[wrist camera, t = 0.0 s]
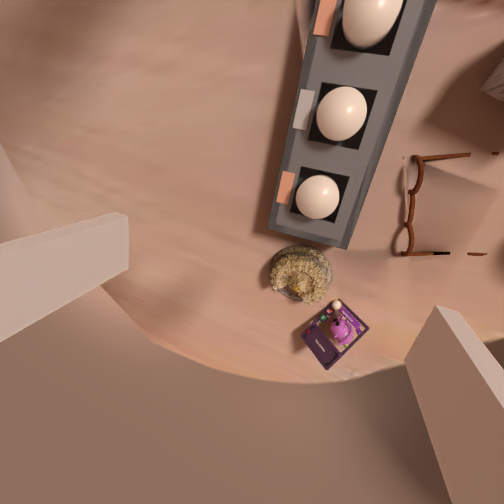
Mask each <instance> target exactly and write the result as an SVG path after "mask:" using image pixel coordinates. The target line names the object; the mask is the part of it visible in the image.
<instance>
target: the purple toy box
mask: <svg viewBox="0 0 504 504" xmlns="http://www.w3.org/2000/svg"><path fill="white" fill-rule="evenodd" d="M342 305H343V306H344V307H345V308H346V309H347V310H348V311H349V312H350V313H351V314H352V315H353V316H354V317H355V318H356V319H357V320H358V321H359V322H360V323H361V324H362V325H363V326H364V327H365V330H364V331H363V332H362V331H361V330H360V328H359V327H360V326H361V325H360V323H359V322H358V321H357V320H356V319H355V318H354V317H353V316H352V315H351V314H350V313H349V312H348V311H347V310H346V309H345V308H344V307H343V306H342ZM331 307H333V308H334V309H335V310H338V311H339V312H340V313H341V314H342V316H341V317H339V316H338V319H334V320H333V322H332V325H331V329H330V330H332V332H333V334H334V338H336V340H337V341H338V342H339V346H340V345H341V344H342V345H344V347H345V348H346V349H345V350H344V351H343V352H342V353H340V352H339V351H338V350H337V348H336V347H335V346H334V345H333V344H332V342H331V341H330V340H329V339H328V338H327V336H326V335H325V334H324V333H323V332H322V331H321V329H320V328H319V327H318V326H317V325H316V323H317V322H318V321H319V320H320V321H322V322H326V321H327V320H328V317H327V315H328V316H331V315H332V314H333V313H334V310H333V308H331ZM343 316H344V317H345V318H346V319H347V320H348V321H349V322H350V323H351V324H352V325H353V326H354V327H355V328H356V332H357V334H358V337H357V338H356V339H355V340H354V341H353V342H352V343H351V344H350V345H349V346H347V344H348V343H349V342H350V341H351V340H352V337H353V329H352V326H351V325H350V324H349V323H348V322H347V320H343V319H341V318H342V317H343ZM368 330H369V327H368V326H367V325H366V324H365V323H364V322H363V321H362V320H361V319H360V318H359V317H358V316H357V315H356V314H355V313H354V312H353V311H352V310H351V309H350V308H349V307H348V306H347V305H345V304H344V303H343V302H342V301H341V300H340V299H338V300H334V301H333V302H331V303H330V304H329V305H328V307H327V308H326V309H325V310H324V311H323V312H322V313H321V314H320V315H319V316H318V317H317V318H316V319H315V320H314V321H313V322H312V323H311V325H310V326H309V327H308V328H307V329H306V330H305V331H304V332H303V333H302V334H301V338H302V339H303V340H304V342H305V343H306V344H307V346H308V347H309V348H310V350H311V351H312V352H313V354H314V355H315V356H316V358H317V359H318V360H319V362H320V363H321V364H322V366H323V367H324V368H325V370H329V369H330V368H331V367H332V366H333V365H334V364H335V363H336V362H337V361H338V360H339V359H340V358H341V357H342V356H343V355H344V354H345V353H346V352H347V351H348V350H349V349H350V348H351V347H352V346H353V345H354V344H355V343H356V342H357V341H358V340H359V339H360V338H361V337H362V336H363V335H364V334H365V333H366V332H367V331H368ZM359 333H361V334H360V335H359Z"/></svg>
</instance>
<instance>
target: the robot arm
mask: <svg viewBox="0 0 504 504" xmlns="http://www.w3.org/2000/svg"><path fill="white" fill-rule="evenodd" d="M127 269H129V227H128V216H127V215H123V214H120V213H116V212H112V213H109V214H105V215H101V216H98V217H94V218H91V219H87V220H84V221H80V222H76V223H73V224H69V225H66V226H62V227H59V228H55V229H51V230H48V231H45V232H41V233H38V234H33V235H30V236H26V237H23V238H20V239H16V240H12V241H8V242H5V243H2V244H0V342H1V341H3V340H5V339H7V338H8V337H10V336H12V335H13V334H15V333H17V332H19V331H21V330H22V329H24V328H26V327H28V326H29V325H31V324H33V323H34V322H36V321H38V320H40V319H41V318H43V317H45V316H47V315H48V314H50V313H52V312H54V311H55V310H57V309H59V308H61V307H62V306H64V305H66V304H67V303H69V302H71V301H73V300H74V299H76V298H78V297H80V296H81V295H83V294H85V293H87V292H88V291H90V290H92V289H94V288H95V287H97V286H99V285H101V284H102V283H104V282H106V281H108V280H109V279H111V278H113V277H115V276H116V275H118V274H120V273H122V272H123V271H125V270H127ZM404 361H405V364H406V367H407V370H408V373H409V376H410V379H411V382H412V385H413V388H414V391H415V394H416V397H417V400H418V403H419V406H420V409H421V412H422V415H423V418H424V421H425V424H426V427H427V430H428V433H429V435H430V439H431V442H432V445H433V448H434V451H435V454H436V457H437V460H438V463H439V466H440V469H441V472H442V475H443V478H444V481H445V484H446V487H447V490H448V493H449V496H450V499H451V502H452V504H504V370H503V368H502V367H501V366H500V365H499V363H498V362H497V361H496V359H495V358H494V357H493V356H492V354H491V353H490V352H489V350H488V349H487V348H486V347H485V345H484V344H483V343H482V341H481V340H480V339H479V337H478V336H477V335H476V334H475V332H474V331H473V330H472V328H471V327H470V326H469V325H468V323H467V322H466V321H465V319H464V318H463V317H462V315H461V314H460V313H459V312H458V311H455V310H451V309H448V308H445V307H441V306H438V305H435V306H434V308H433V310H432V312H431V313H430V315H429V317H428V319H427V321H426V322H425V324H424V326H423V328H422V329H421V331H420V333H419V335H418V336H417V338H416V340H415V342H414V343H413V345H412V347H411V349H410V350H409V352H408V354H407V356H406V357H405V359H404Z"/></svg>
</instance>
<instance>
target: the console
mask: <svg viewBox="0 0 504 504" xmlns="http://www.w3.org/2000/svg"><path fill="white" fill-rule="evenodd" d="M436 1H437V0H403V2H402V6H401V9H400V11H399V14H398V16H397V18H396V20H395V22H394V24H393V26H392V28H391V30H390V32H389V34H388V35H387V36H386V38H385V39H384V40H383V41H382V42H381V43H379V44H378V45H376V46H375V47H373V48H370V49H367V50H358V49H355V48H353V47H351V46H350V45H349V44H348V43H347V42H346V40H345V38H344V35H343V31H342V21H343V8H344V2H345V0H316V4H315V9H314V13H313V18H312V22H311V27H310V32H309V36H308V41H307V46H306V50H305V55H304V60H303V64H302V69H301V73H300V78H299V83H298V87H297V92H296V97H295V101H294V106H293V111H292V115H291V120H290V124H289V129H288V134H287V138H286V143H285V148H284V152H283V157H282V162H281V166H280V171H279V175H278V180H277V185H276V189H275V194H274V199H273V203H272V208H271V213H270V217H269V222H268V227H267V229H270V230H274V231H278V232H282V233H285V234H289V235H293V236H296V237H300V238H304V239H308V240H311V241H315V242H319V243H323V244H326V245H330V246H334V247H337V248H341V249H345V250H347V248H348V245H349V242H350V239H351V236H352V234H353V231H354V228H355V225H356V223H357V220H358V217H359V214H360V212H361V209H362V206H363V203H364V200H365V198H366V195H367V192H368V189H369V187H370V184H371V181H372V178H373V176H374V173H375V170H376V167H377V165H378V162H379V159H380V156H381V153H382V151H383V148H384V145H385V142H386V140H387V137H388V134H389V131H390V129H391V126H392V123H393V120H394V118H395V115H396V112H397V109H398V106H399V104H400V101H401V98H402V95H403V93H404V90H405V87H406V84H407V82H408V79H409V76H410V73H411V70H412V68H413V65H414V62H415V59H416V57H417V54H418V51H419V48H420V46H421V43H422V40H423V37H424V35H425V32H426V29H427V26H428V23H429V21H430V18H431V15H432V12H433V10H434V7H435V4H436ZM339 87H352V88H354V89H356V90H358V91H359V92H360V93H361V94H362V95H363V97H364V99H365V101H366V105H367V114H366V118H365V121H364V123H363V125H362V126H361V128H360V129H359V130H358V131H357V132H356V133H355V134H354V135H353V136H351V137H350V138H348V139H346V140H343V141H333V140H330V139H328V138H326V137H325V136H324V135H323V134H322V133H321V131H320V130H319V127H318V125H317V118H316V117H317V110H318V107H319V104H320V102H321V101H322V99H323V98H324V97H325V96H326V95H327V94H328V93H329V92H330V91H332V90H334V89H336V88H339ZM317 174H322V175H327V176H329V177H330V178H332V179H333V180H334V181H335V182H336V184H337V186H338V190H339V202H338V205H337V207H336V209H335V210H334V211H333V212H332V213H331V214H330V215H329V216H327V217H325V218H321V219H312V218H309V217H307V216H305V215H304V214H302V213H301V211H300V210H299V209H298V207H297V203H296V194H297V191H298V188H299V187H300V185H301V184H302V183H303V182H304V181H305V180H306V179H307V178H309V177H311V176H313V175H317Z"/></svg>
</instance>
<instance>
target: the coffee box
mask: <svg viewBox="0 0 504 504" xmlns="http://www.w3.org/2000/svg"><path fill="white" fill-rule="evenodd" d="M481 91H482V92H484V93H486V94H488V95H490V96H491V97H493V98H495V99H497V100H499V101H501V102H503V103H504V57H503V58H502V60H501V61H500V62H499V64H498V65H497V67H496V68H495V69H494V71H493V72H492V73H491V75H490V76H489V78H488V79H487V81H486V82H485V83H484V85H483V86H482V88H481Z"/></svg>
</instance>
